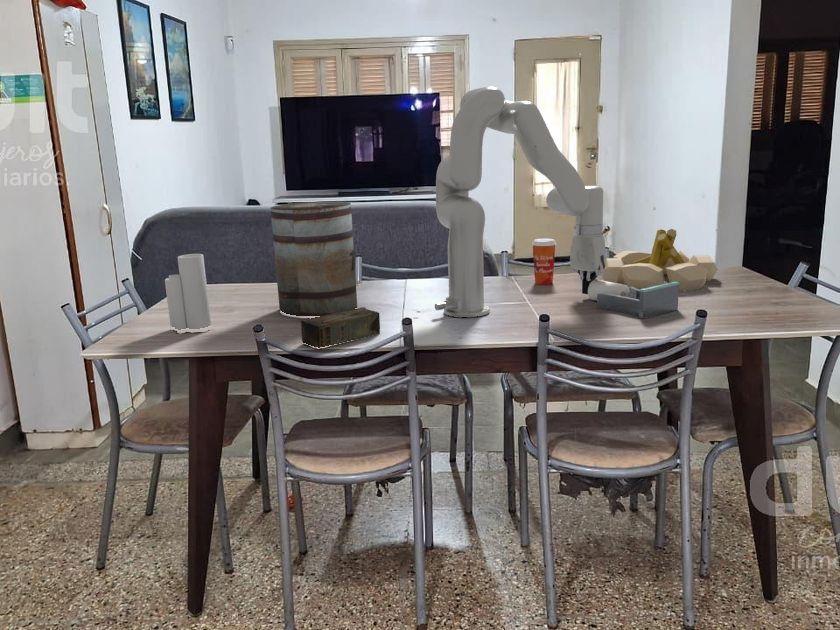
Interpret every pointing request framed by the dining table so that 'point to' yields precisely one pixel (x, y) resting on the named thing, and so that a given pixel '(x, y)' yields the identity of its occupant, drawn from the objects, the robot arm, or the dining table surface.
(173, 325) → the vase
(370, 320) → the olive brown box
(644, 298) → the holder
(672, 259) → the campfire
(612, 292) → the roll
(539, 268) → the paper cup
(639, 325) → the dining table surface
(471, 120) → the robot arm
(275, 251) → the barrel
